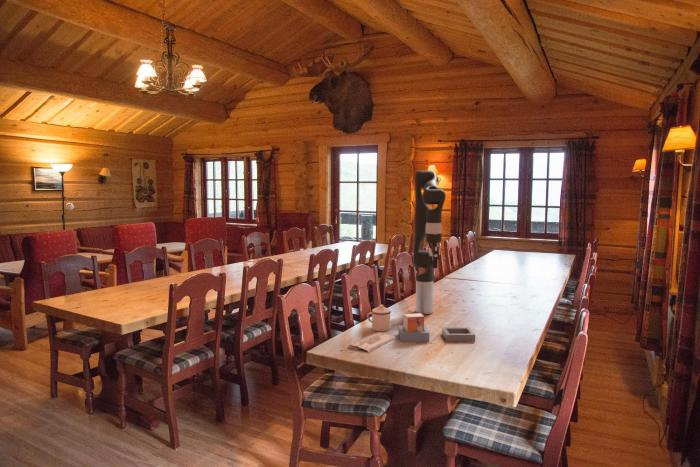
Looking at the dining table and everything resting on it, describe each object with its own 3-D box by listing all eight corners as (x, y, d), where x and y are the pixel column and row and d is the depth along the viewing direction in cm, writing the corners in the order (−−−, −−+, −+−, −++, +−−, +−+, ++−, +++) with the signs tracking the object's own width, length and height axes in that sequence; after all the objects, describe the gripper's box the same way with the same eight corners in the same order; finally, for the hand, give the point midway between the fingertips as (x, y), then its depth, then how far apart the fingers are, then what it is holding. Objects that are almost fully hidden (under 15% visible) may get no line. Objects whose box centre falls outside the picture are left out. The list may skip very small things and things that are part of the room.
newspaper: (373, 334, 218) (373, 329, 218) (395, 342, 211) (396, 337, 211) (343, 348, 200) (344, 342, 200) (367, 357, 193) (367, 351, 193)
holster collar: (442, 333, 217) (442, 327, 216) (469, 333, 216) (469, 327, 216) (446, 341, 206) (446, 334, 206) (475, 341, 206) (475, 334, 206)
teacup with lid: (394, 327, 226) (394, 304, 225) (385, 332, 219) (385, 308, 217) (372, 324, 233) (371, 301, 231) (363, 329, 225) (362, 305, 224)
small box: (406, 340, 208) (407, 317, 207) (403, 336, 214) (403, 313, 212) (424, 339, 210) (424, 316, 208) (420, 335, 215) (420, 312, 214)
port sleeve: (398, 334, 217) (398, 325, 216) (425, 333, 217) (425, 325, 216) (400, 341, 206) (400, 332, 206) (429, 341, 206) (429, 332, 206)
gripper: (423, 230, 227) (423, 263, 229) (428, 234, 213) (427, 269, 215) (439, 230, 227) (438, 263, 229) (444, 233, 213) (444, 269, 215)
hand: (433, 266), depth 222 cm, fingers open, 8 cm apart
